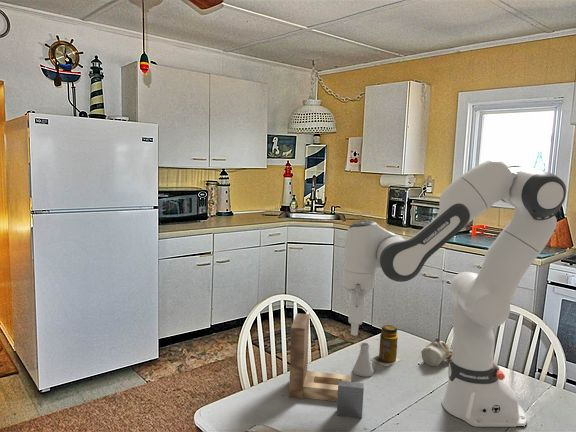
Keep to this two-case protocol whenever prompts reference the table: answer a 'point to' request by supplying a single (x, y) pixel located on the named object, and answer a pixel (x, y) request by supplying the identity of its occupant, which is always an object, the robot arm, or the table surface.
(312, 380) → the tan slotted wooden fixture
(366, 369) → the flask
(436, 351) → the ceramic sculpture
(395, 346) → the condiment
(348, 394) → the brushed steel bar
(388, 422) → the table surface
